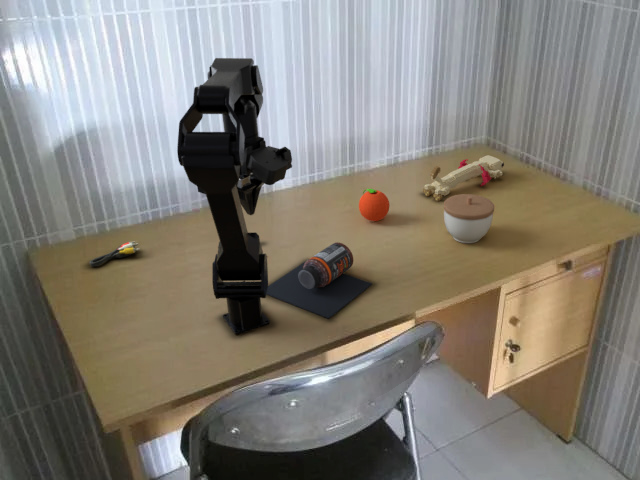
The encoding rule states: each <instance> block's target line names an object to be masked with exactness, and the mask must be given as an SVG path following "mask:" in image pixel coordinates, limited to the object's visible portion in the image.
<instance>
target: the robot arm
mask: <svg viewBox="0 0 640 480" xmlns="http://www.w3.org/2000/svg"><path fill="white" fill-rule="evenodd" d="M193 89H194V90H193V101H192V104H191V105H190V106H189V108H188V109H187V110H186V112H184V115H183V116H182V118H181V119H180V120H179V123H178V132H177V134H178V135H177V148H176V149H177V150H176V151H177V158H178V159H177V160H178V163H179V165H180V167H183V170H184V172H185V175H186V176H187V179H188V181H189V182H190V183H192V184H193V185H194V186H196V187H197V192H198V193H200V194H203V195H205V196H206V200H207V204H208V207H209V210H210V213H211V216H212V220H213V223H214V226H215V230H216V233H217V236H218V240H219V242H218V246H217V253H216V254H215V257H214V261H213V262H212V265H211V266H212V271H211V272H212V274H211V276H212V290H213V295H214V298H215V299H216V300H220V299H226V307H227V311H228V312H227V313H224V314H222V319H223V320H224V322H225V323H226V324H227V325H228V327H229V328H230V330H231V331H232V332H233V334H234V335H241V334H244V333H248V332H252V331H253V330H256V329H259V328H262V327H265V326H269V325H270V324H271V320H270V319H269V318H268V317H267V315H266V314H265V313H264V312H263V309H262V299H266V298H267V295H266V293H267V288H268V286H269V270H268V256H267V253H264V250H263V248H262V244H261V239H260V235H259V234H258V233H257V232H249V231H248V229H247V228H248V227H247V224H246V223H247V222H246V219H245V216H244V211H245V213H246V214H247V215H248V216H253V215H255V214H256V210H257V209H256V208H257V204H258V200H259V196H260V193H261V190H262V187H263V186H264V185H267V186H273V185H275V183H277V182H280V181H283V180H285V178H286V174H287V171H288V170H290V169H292V168H293V164H292V162H293V158H292V151H291V149H289V148H288V147H286V146H282V147H281V148H277V147H274V146H271V145H268V146H266V145H267V142H266V140H265V138H264V137H263V136H260V135H259V127H258V117H259V116H260V113H261V110H262V107H263V104H264V96H263V93H264V86H263V81H262V77H261V73H260V68H259V65H258V64H255V61H254V59H253V58H249V57H245V58H243V57H215V58H214V59H213V62H212V63H211V65H209V71H208V72H207V80H206V81H205V82H203V84H200V85H199V86H195V87H194V88H193ZM204 115H221V116H222V124H223V131H194V130H195V129H196V128H197V127H198V125H199V124H200V122H201V121H202V119H203V116H204ZM243 210H244V211H243Z"/></svg>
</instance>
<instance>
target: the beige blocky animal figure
mask: <svg viewBox="0 0 640 480" xmlns="http://www.w3.org/2000/svg"><path fill="white" fill-rule="evenodd" d="M467 161H469V159H468V158H465V159H462V161H460V162H459V166H458V167H457V169H455V170H453V171H451V172H449V173H447V175H445V176H442V177H440V176H438V175H439V174H440V172H441V167H440V166H438V165H436V166H433V168H432V171H431V173H430V179H431V180H432V181H433V182H431V183H430V184H429V183H427V184H424V188H423V189H422V192H423V193H424V196H425V197H430V196H431V195H432V194H433V195H432V196H433V198H434V201H436V202H439V201H441V200H443V196H448V195H449V194H450V190H451V189H454V188H456V187H457V186H459V184H462V183H464V182H466V181H468V180H470V179H475V178H476V177H478V176H481V177H482V181H481V184H479V187H484V186H486V185H487V184H488V183H489V182H490V181H491V180H492V178H494V180H496V179H497V178H499V177H502V176H503V171H502V169H503V168H504V167H505V163H504V161H502V160H501V159H500V158H497V157H495V156H492V155H484V156H483V157H480V158H478V160H475V161H473V162H472V163H467ZM433 191H434V193H433Z"/></svg>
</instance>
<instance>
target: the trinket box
mask: <svg viewBox="0 0 640 480" xmlns="http://www.w3.org/2000/svg"><path fill="white" fill-rule="evenodd" d="M494 212H495V204H494V203H493V201H492V200H490V199H489V198H487V197H485V196H482V195H479V194H471V193H470V194H469V193H461V194H455V195H452V196H449V197H447V198H446V199H445V200H444V201H443V219H444V220H443V221H444V226H445V228H446V230H447V233H448V234H449V235H450V236H451V237H452V238H453V240H454V241H456V242H458V243H461V244H474V243H477V242H479V241H481V239H482V238H483V237H485V236H486V235H487V233H488V232H489V230H490V228H491V226H492V224H493V223H492V222H493V218H494Z"/></svg>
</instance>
